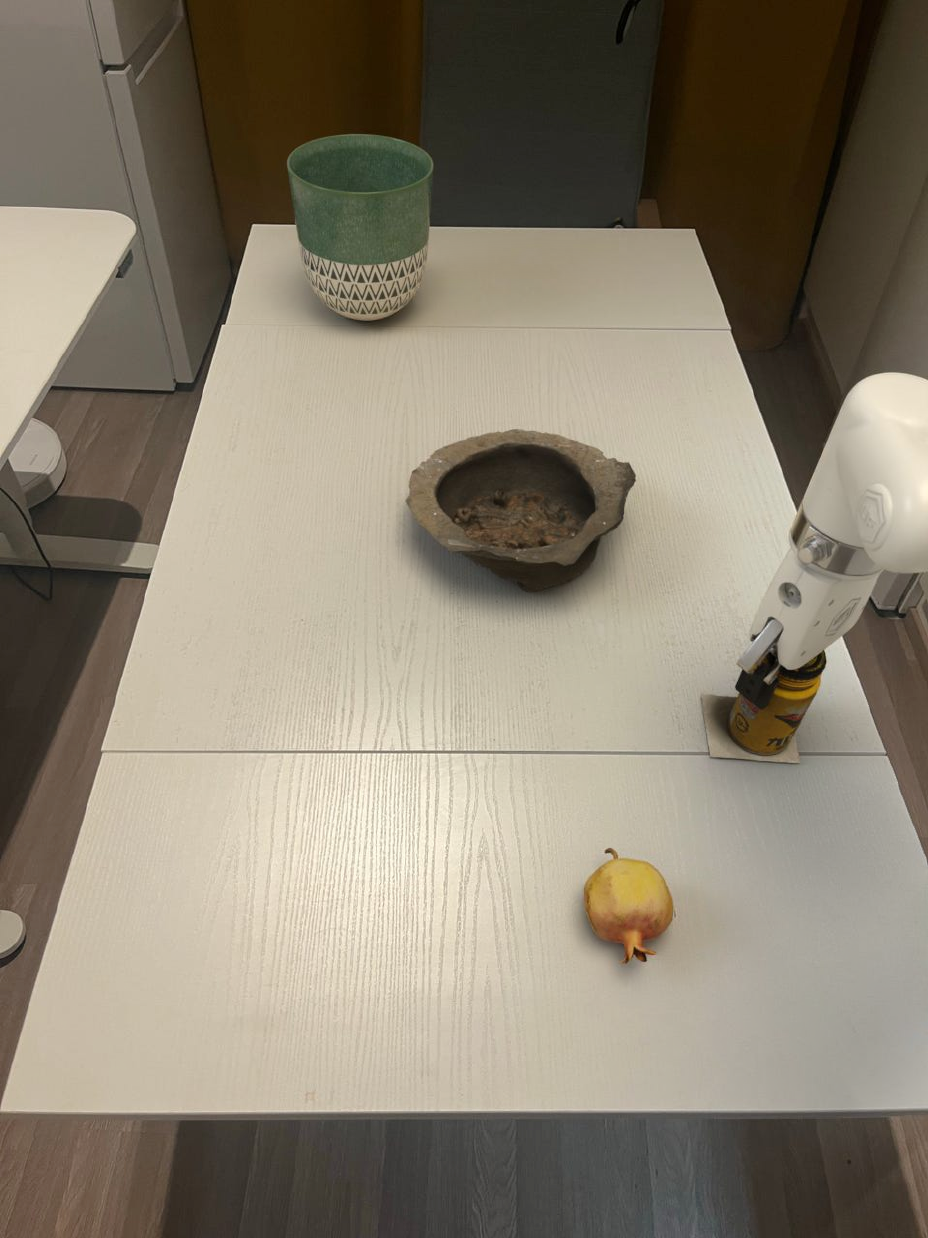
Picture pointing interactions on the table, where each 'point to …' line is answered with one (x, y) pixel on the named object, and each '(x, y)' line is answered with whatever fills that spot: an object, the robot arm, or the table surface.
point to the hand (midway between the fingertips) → (774, 679)
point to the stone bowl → (521, 503)
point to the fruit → (628, 904)
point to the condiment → (763, 716)
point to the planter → (362, 220)
